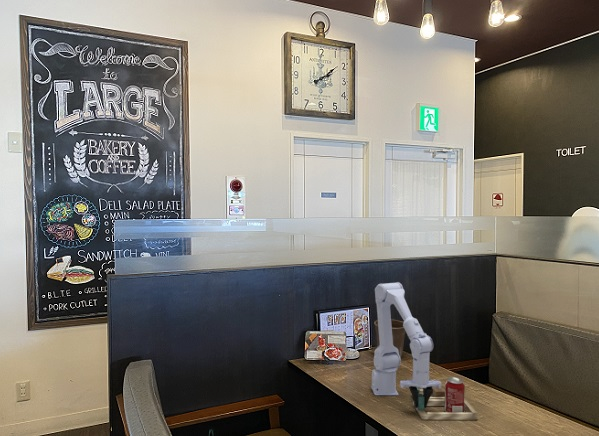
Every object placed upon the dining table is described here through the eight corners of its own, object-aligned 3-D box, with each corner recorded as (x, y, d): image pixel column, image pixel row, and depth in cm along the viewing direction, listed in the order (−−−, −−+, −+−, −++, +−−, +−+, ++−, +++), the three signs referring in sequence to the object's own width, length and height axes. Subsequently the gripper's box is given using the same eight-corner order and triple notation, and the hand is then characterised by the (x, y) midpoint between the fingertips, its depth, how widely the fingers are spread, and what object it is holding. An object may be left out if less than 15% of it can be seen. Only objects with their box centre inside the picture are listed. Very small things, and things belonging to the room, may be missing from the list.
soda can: (465, 417, 162) (466, 384, 162) (445, 415, 164) (446, 382, 163) (462, 409, 169) (463, 377, 168) (443, 407, 170) (444, 375, 170)
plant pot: (412, 360, 222) (412, 327, 221) (380, 361, 218) (381, 328, 218) (398, 349, 237) (399, 318, 237) (369, 350, 234) (369, 319, 234)
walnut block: (435, 401, 175) (435, 391, 175) (432, 397, 179) (432, 387, 179) (445, 401, 175) (446, 391, 175) (442, 397, 179) (442, 387, 179)
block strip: (416, 403, 173) (416, 392, 173) (410, 394, 181) (410, 384, 181) (455, 403, 173) (455, 393, 173) (448, 394, 181) (448, 384, 181)
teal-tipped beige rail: (421, 419, 160) (422, 402, 160) (412, 404, 172) (413, 388, 172) (477, 419, 160) (477, 402, 160) (464, 404, 172) (464, 389, 172)
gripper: (403, 373, 161) (403, 411, 162) (444, 374, 162) (443, 411, 162) (399, 366, 168) (398, 402, 169) (438, 366, 169) (437, 403, 169)
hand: (420, 406), depth 166 cm, fingers open, 3 cm apart
